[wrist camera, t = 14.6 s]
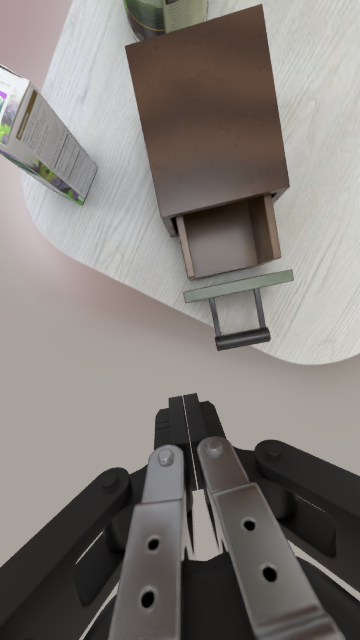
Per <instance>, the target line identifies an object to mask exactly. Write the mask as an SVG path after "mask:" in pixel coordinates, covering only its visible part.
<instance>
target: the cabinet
mask: <svg viewBox="0 0 360 640" xmlns="http://www.w3.org/2000/svg"><path fill="white" fill-rule="evenodd" d="M125 49H126V54H127V59H128V63H129V68H130V73H131V78H132V82H133V87H134V92H135V97H136V101H137V106H138V111H139V116H140V120H141V125H142V130H143V135H144V139H145V144H146V149H147V153H148V158H149V163H150V168H151V172H152V177H153V182H154V187H155V191H156V196H157V201H158V206H159V210H160V215H161V218H162V220H163V222H164V224H165V226H166V228H167V230H168V232H169V234H170V237H174V236H178V235H179V232H178V227H177V222H176V218H175V217H176V216H181V215H185V214H189V213H193V212H197V211H201V210H206V209H210V208H214V207H218V206H222V205H226V204H231V203H235V202H239V201H243V200H247V199H251V198H256V197H260V196H264V195H268V194H271V196H272V202H273V204H274V203H275V202H276V201H277V200H278V199H279V197H280V196H281V195H282V194H283V193H284V192H285V191H286V190H287V189H288V188H289V187H290V185H289V178H288V171H287V165H286V158H285V152H284V145H283V139H282V132H281V125H280V119H279V112H278V106H277V99H276V92H275V86H274V79H273V73H272V66H271V60H270V53H269V46H268V40H267V33H266V27H265V20H264V13H263V7H262V4H260V5H257V6H253V7H250V8H247V9H244V10H240V11H237V12H234V13H231V14H227V15H224V16H221V17H218V18H214V19H211V20H208V21H205V22H201V23H198V24H195V25H192V26H188V27H185V28H182V29H179V30H175V31H172V32H169V33H166V34H162V35H159V36H156V37H153V38H150V39H146V40H143V41H140V42H137V43H133V44H130V45H127V46H125Z"/></svg>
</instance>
